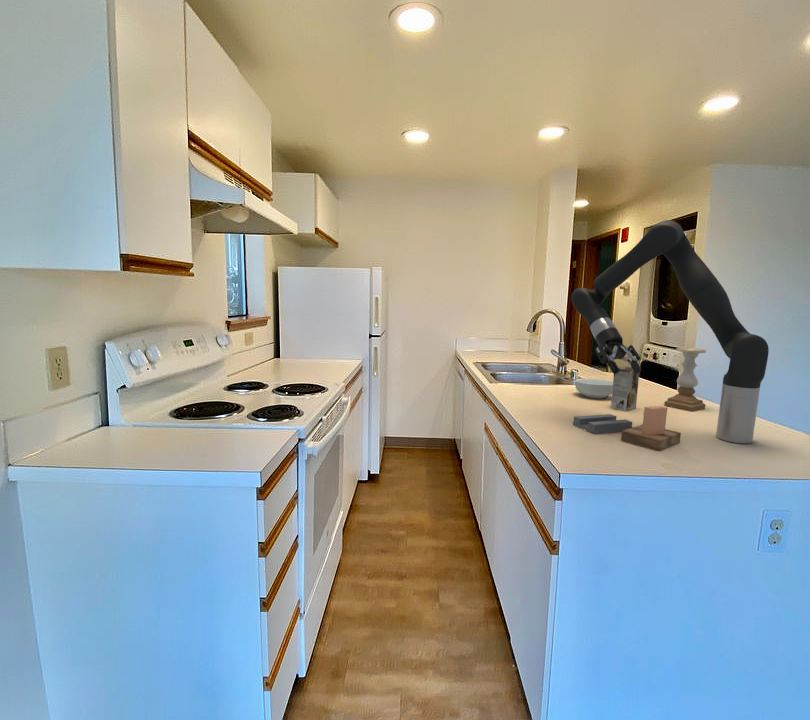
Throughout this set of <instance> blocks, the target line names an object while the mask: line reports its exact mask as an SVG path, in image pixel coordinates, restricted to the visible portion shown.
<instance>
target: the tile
mask: <svg viewBox="0 0 810 720" xmlns="http://www.w3.org/2000/svg"><path fill="white" fill-rule="evenodd" d="M667 414H668V407H667V406H664V405H655V406H653V405H652V406H644V409H643V418H642V420H643V421H642V424H643V427H642V433H644V434H647V435H657V434H665V429H666V425H667V424H666V423H667Z"/></svg>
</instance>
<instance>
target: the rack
mask: <svg viewBox="0 0 810 720" xmlns="http://www.w3.org/2000/svg"><path fill="white" fill-rule="evenodd" d="M572 424H573V425H572V426H574V425H575V427H577V426H578V427H577V428H579V427H580V429H581V428H582V429H581V430H584V429H585V430H584V431H586V430H587V431H586V432H588V431H589V432H588V433H590V434H594V435H603V434H617V433H622V431H623V430H627V429H630V428H633V421H631V420H629V419H617V416H616V415H614V414H611V413H609V414H608V413H605V414H604V413H603V414H592V415H590V414H589V415H577V416H573V421H572Z"/></svg>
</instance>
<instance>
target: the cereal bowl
mask: <svg viewBox="0 0 810 720" xmlns="http://www.w3.org/2000/svg"><path fill="white" fill-rule="evenodd" d="M574 386H575V389H576V391H577V392H578V393H580V394H582V395H584V396H585V397H587V398H589V399H590V398H591V399H600V400H601V399H604V398H606V397H609V396H612V389H613V380H609V379H603V378H592V377H591V378H588V377H587V378H576V379H575V380H574Z"/></svg>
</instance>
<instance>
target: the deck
mask: <svg viewBox="0 0 810 720" xmlns="http://www.w3.org/2000/svg"><path fill="white" fill-rule="evenodd" d="M642 427H643V423H642V424H639V425H636V426H632V428H630V429H627V430H623V431H622V432H621V434H620V441H621V442H625V443H627V444H628V443H629V444H632V445H635V446H640V447H644V448H646V449H650V450H653V451H657V452H660V451H662V450H665V449H666V448H669V447H672V446H674V445H676V444H678V443H681V434H682V433H681V432H680V431H676V430H671V429H666V428H665V434H657V435H647V434H644V433H642Z"/></svg>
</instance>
